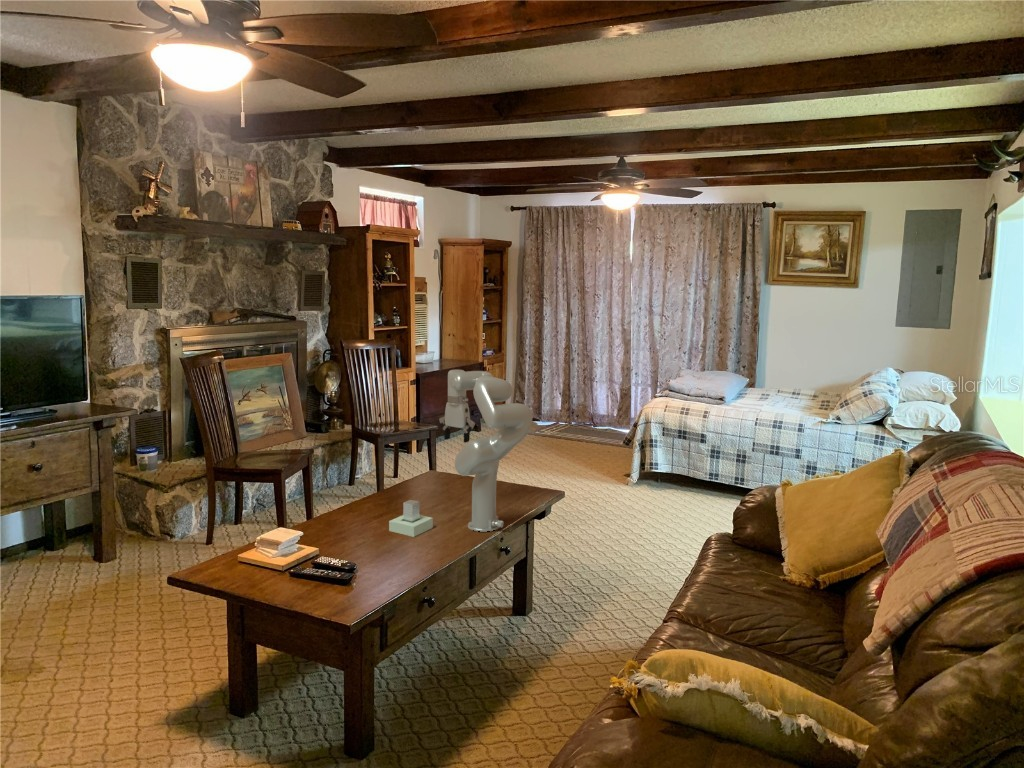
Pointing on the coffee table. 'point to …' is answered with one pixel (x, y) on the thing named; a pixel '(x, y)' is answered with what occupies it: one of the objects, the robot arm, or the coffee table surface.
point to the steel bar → (411, 511)
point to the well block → (411, 526)
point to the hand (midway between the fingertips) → (456, 440)
